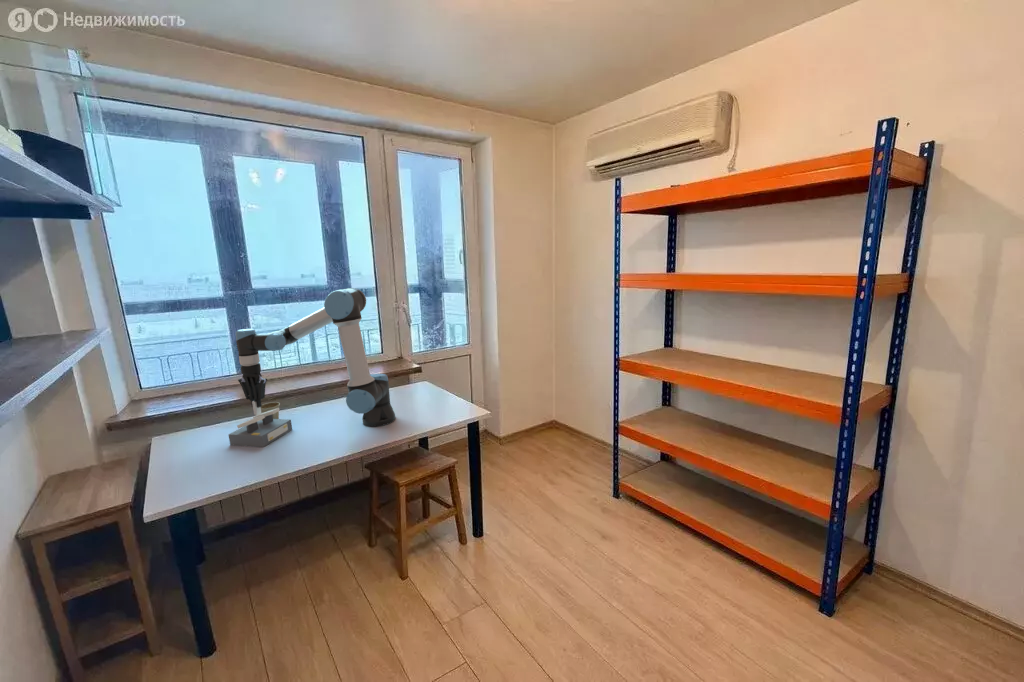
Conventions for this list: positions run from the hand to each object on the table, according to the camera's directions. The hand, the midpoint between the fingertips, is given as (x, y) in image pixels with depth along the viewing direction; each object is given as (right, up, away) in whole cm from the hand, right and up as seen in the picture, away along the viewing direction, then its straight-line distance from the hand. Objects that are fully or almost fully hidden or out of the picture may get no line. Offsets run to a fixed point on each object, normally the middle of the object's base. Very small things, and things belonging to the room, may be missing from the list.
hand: (257, 413), depth 187 cm
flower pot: (-2, -7, +14) cm, 16 cm away
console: (+4, -10, -3) cm, 11 cm away
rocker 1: (+3, -2, -9) cm, 10 cm away
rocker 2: (+5, -1, -1) cm, 5 cm away
